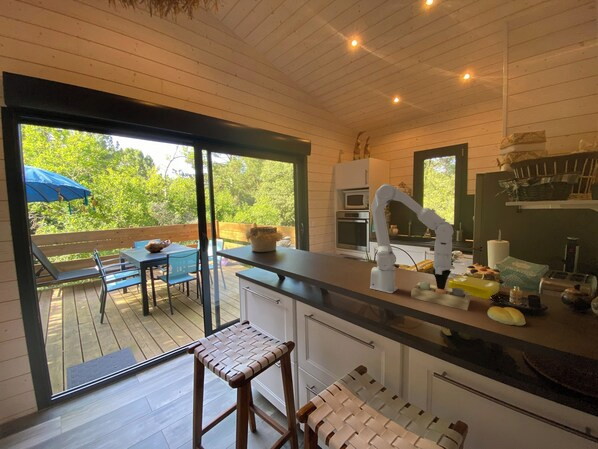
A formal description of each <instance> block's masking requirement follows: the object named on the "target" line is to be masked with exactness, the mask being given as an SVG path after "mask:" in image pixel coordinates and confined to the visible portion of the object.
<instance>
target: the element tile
mask: <svg viewBox="0 0 598 449" xmlns="http://www.w3.org/2000/svg"><path fill="white" fill-rule="evenodd" d="M447 288H450V289H452V288H460V289H463V290H464V291H466V292H471V295H470V297H471V296H472V297H476V298H479V297H480V298H481V299H484V300H491V299H490V297H491V296H492V295H494V294H496V293H498V292H499V290H500V289H499V288H500V283H499V282H498V281H494V280H488V279H483V278H480V277H479V278H477V277H473V276H468V275H462V274H460V275H459V274H458V275H457V276H455V277H453V278H451V279H449V280H448V287H447ZM498 294H499V293H498Z"/></svg>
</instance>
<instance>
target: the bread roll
mask: <svg viewBox="0 0 598 449" xmlns="http://www.w3.org/2000/svg"><path fill="white" fill-rule="evenodd" d="M487 316H488V318H490V319H492V320H493V321H495V322H498V323H501V324H504V325H511V326H516V327H517V326H524V325H526V323H527V322H526V319H525V318H526V317H525V316H524V314H523V313H522V312H521V311H520V310H519V309H517V308H514V307H509V306H505V307H501V306H495V305H494V306H491V307H489V309H488V310H487Z"/></svg>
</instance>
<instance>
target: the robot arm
mask: <svg viewBox="0 0 598 449" xmlns="http://www.w3.org/2000/svg"><path fill="white" fill-rule="evenodd" d="M392 201H397V202H400V203H402V204H403V205H405V206H406V207H408V208H409V209H410V210H412V211H413V212H414V213H415V214H417V220H419V221H420V222H421V223H423V225H425V226H426V227H427V228H429V229H430V230H433V231H434V233H435V240H434V249H433V250H434V251H433V264H432V266H433V268H434V269H432V274H433V276H434V278H435V283H436V286H437V288H438V289H442V290H444V288H446V285H447V282H448V281H447V280H448V278H449V276H450V275H451V273H452V270H454V269H455V268H456V266H454V265H452V257H453V256H452V253H453V242H452V241H453V235H454V233H455V232H454V228H453V226H452V224H451V223H450V222H448V221H447V219H446V218H445V217H442V216H440V214H437V213H436V210H435V209H434V208H432V209H431V208H430V207H426V208H425V207H422V205H420V203H418V202H417V201H415V200H414V198H412V197H411V196H410V195H408V194H407V193H405V192H404V191H402V190H400V189H398V188H397V187H396V186H394V185H391V184H389V183H384V184H382V185H381V186H380V187H378V189H377V190H375V195H374V197H373V199H372V203H371V205H370V208H371V214H372V220H373V226H374V232H375V236H376V242H377V243H376V244H377V259H376V265H377V266H373V267H372V268H371V271H370V286H369V289H371V290H374V291H375V290H376V291H380V292H384V293H388V294H393V293H395V291H397V290H398V289H399V287H397V286H395V285H396V267H395V264H396V262H397V256H396V255H395V253H394V252H393V248H392V246H391V241H390V235H389V230H388V225H387V220H386V219H387V218H386V214H385V209H386V207H387V206H388V205H389V203H391V202H392Z"/></svg>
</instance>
